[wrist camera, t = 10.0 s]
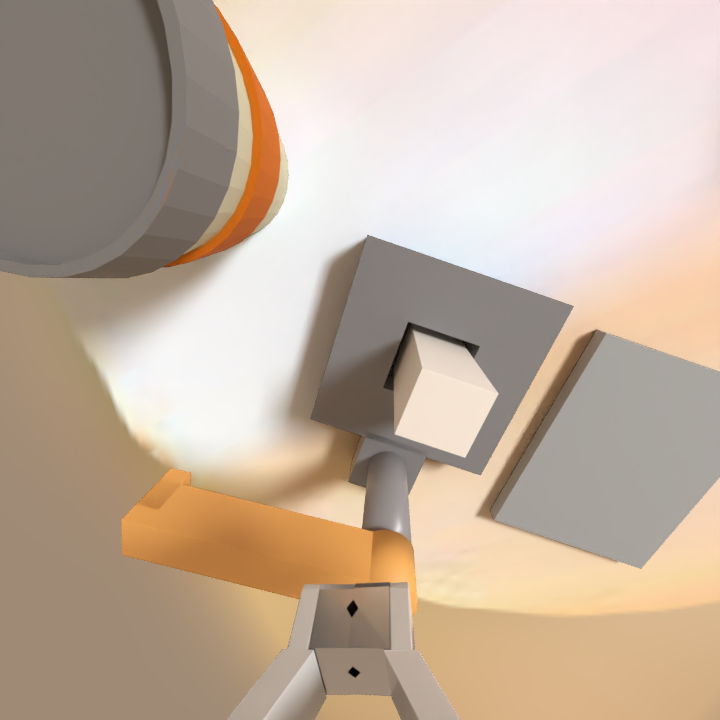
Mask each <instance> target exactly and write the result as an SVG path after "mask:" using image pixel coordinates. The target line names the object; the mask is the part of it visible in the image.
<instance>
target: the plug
mask: <svg viewBox="0 0 720 720" xmlns="http://www.w3.org/2000/svg"><path fill="white" fill-rule="evenodd" d="M393 378H394V434H395V435H398V436H401V437H404V438H407V439H410V440H413V441H416V442H419V443H422V444H425V445H428V446H431V447H434V448H437V449H440V450H443V451H446V452H449V453H452V454H455V455H458V456H461V457H464V458H465V457H466V455H467V453H468V452H469V450H470V448H471V446H472V444H473V442H474V440H475V438H476V436H477V434H478V432H479V430H480V429H481V427H482V425H483V423H484V421H485V419H486V417H487V415H488V413H489V411H490V409H491V407H492V405H493V404H494V402H495V400H496V398H497V396H498V394H499V393H498V392H497V391H496V389H495V388H494V387H493V385H492V384H491V382H490V381H489V380H488V378H487V377H486V375H485V374H484V373H483V371H482V370H481V368H480V367H479V366H478V364H477V363H476V361H475V360H474V359H473V357H472V356H471V354H470V353H469V352H468V350H467V349H466V347H465V346H464V345H463V343H462V342H461V340H460V339H457V338H454V337H451V336H448V335H445V334H442V333H439V332H436V331H433V330H430V329H428V328H425V327H422V326H419V325H416V324H413V323H411V324H410V327H409V330H408V332H407V335H406V337H405V340H404V342H403V345H402V348H401V350H400V353H399V355H398V358H397V361H396V363H395V366H394V368H393Z"/></svg>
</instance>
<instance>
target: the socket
mask: <svg viewBox="0 0 720 720" xmlns="http://www.w3.org/2000/svg"><path fill="white" fill-rule="evenodd" d="M573 307H574V306H572V305H569V304H566V303H563V302H560V301H557V300H554V299H551V298H549V297H546V296H543V295H540V294H537V293H534V292H531V291H528V290H525V289H523V288H520V287H517V286H514V285H511V284H508V283H505V282H502V281H499V280H497V279H494V278H491V277H488V276H485V275H482V274H479V273H476V272H473V271H471V270H468V269H465V268H462V267H459V266H456V265H453V264H450V263H447V262H445V261H442V260H439V259H436V258H433V257H430V256H427V255H424V254H421V253H419V252H416V251H413V250H410V249H407V248H404V247H401V246H398V245H395V244H393V243H390V242H387V241H384V240H381V239H378V238H375V237H372V236H369V235H367V238H366V241H365V244H364V248H363V251H362V254H361V257H360V260H359V264H358V267H357V270H356V273H355V277H354V280H353V283H352V286H351V289H350V293H349V296H348V299H347V302H346V305H345V309H344V312H343V315H342V318H341V322H340V325H339V328H338V331H337V334H336V338H335V341H334V344H333V347H332V350H331V354H330V357H329V360H328V363H327V367H326V370H325V373H324V376H323V379H322V383H321V386H320V389H319V392H318V395H317V399H316V402H315V405H314V408H313V412H312V415H311V418H310V419H312V420H315V421H318V422H321V423H324V424H327V425H330V426H333V427H336V428H339V429H342V430H345V431H348V432H351V433H355V434H358V435H361V438H360V441H359V443H358V446H357V449H356V451H355V454H354V456H353V459H352V464H351V469H350V475H349V480H348V482H350V483H353V484H356V485H359V486H362V487H365V488H366V495H365V505H364V515H363V524H362V529H364V530H368V531H377V530H391V531H395V532H398V533H400V534H402V535H403V536H405V537H406V538H407V539H408V540H409V541H410V542H411V530H410V515H409V500H408V495H409V493H410V491H411V489H412V487H413V485H414V482H415V480H416V478H417V476H418V474H419V472H420V470H421V468H422V465H423V463H424V461H425V459H426V457H427V458H430V459H433V460H436V461H439V462H442V463H445V464H448V465H451V466H454V467H457V468H460V469H463V470H466V471H469V472H472V473H475V474H478V475H481V474H482V472H483V470H484V468H485V467H486V465H487V463H488V461H489V459H490V457H491V456H492V454H493V452H494V450H495V448H496V447H497V445H498V443H499V441H500V439H501V437H502V436H503V434H504V432H505V430H506V428H507V427H508V425H509V423H510V421H511V419H512V418H513V416H514V414H515V412H516V410H517V408H518V407H519V405H520V403H521V401H522V399H523V398H524V396H525V394H526V392H527V390H528V388H529V387H530V385H531V383H532V381H533V379H534V378H535V376H536V374H537V372H538V370H539V369H540V367H541V365H542V363H543V361H544V359H545V358H546V356H547V354H548V352H549V350H550V349H551V347H552V345H553V343H554V341H555V340H556V338H557V336H558V334H559V332H560V330H561V329H562V327H563V325H564V323H565V321H566V320H567V318H568V316H569V314H570V312H571V310H572V309H573ZM408 322H411V323H414V324H417V325H419V326H422V327H425V328H428V329H431V330H434V331H437V332H440V333H443V334H446V335H449V336H452V337H455V338H458V339H460V340H463V341H466V342H467V344H466V346H465V347H466V349H467V350H468V352H469V353H470V354H471V356H472V357H473V359H474V360H475V361H476V363H477V364H478V366H479V367H480V368H481V370H482V371H483V373H484V374H485V375H486V377H487V378H488V380H489V381H490V382H491V384H492V385H493V387H494V388H495V389H496V391H497V392H498V393H499V394H498V396H497V398H496V400H495V402H494V404H493V405H492V407H491V409H490V411H489V413H488V415H487V417H486V419H485V421H484V423H483V425H482V427H481V429H480V430H479V432H478V434H477V436H476V438H475V440H474V442H473V444H472V446H471V448H470V450H469V452H468V453H467V455H466V457H465V458H464V457H461V456H458V455H455V454H452V453H449V452H446V451H443V450H440V449H437V448H434V447H431V446H428V445H425V444H422V443H419V442H416V441H413V440H410V439H407V438H404V437H401V436H398V435H395V434H394V378H393V376H391V375H388V373H389V371H390V368H391V366H392V363H393V360H394V358H395V355H396V353H397V350H398V347H399V345H400V342H401V340H402V337H403V334H404V332H405V329H406V327H407V324H408Z"/></svg>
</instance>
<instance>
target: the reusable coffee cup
mask: <svg viewBox="0 0 720 720" xmlns="http://www.w3.org/2000/svg"><path fill="white" fill-rule="evenodd" d="M288 176H289V174H288V160H287V156H286V152H285V148H284V145H283V143H282V140H281V138H280V136H279V133H278V130H277V126H276V122H275V118H274V114H273V111H272V109H271V107H270V104H269V102H268V99H267V97H266V95H265V92H264V90H263V88H262V86H261V84H260V82H259V81H258V79H257V77H256V75H255V73H254V71H253V69H252V67H251V65H250V63H249V61H248V59H247V57H246V55H245V53H244V51H243V49H242V47H241V45H240V43H239V41H238V39H237V38H236V36H235V34H234V33H233V31H232V30H231V28H230V27H229V25H228V23H227V22H226V20H225V19H224V17H223V16H222V14H221V12H220V11H219V9H218V8H217V7H216V6H215V5H214V3H213V1H212V0H0V271H4V272H9V273H14V274H18V275H24V276H28V277H52V278H129V277H133V276H137V275H142V274H146V273H150V272H153V271H155V270H157V269H159V268H161V267H171V266H175V265H179V264H184V263H188V262H191V261H194V260H197V259H200V258H203V257H206V256H209V255H212V254H215V253H218V252H221V251H224V250H226V249H228V248H230V247H232V246H234V245H236V244H238V243H240V242H241V241H243V240H244V239H245V238H246V237H248V236H249V235H251V234H253V233H255V232H257V231H259V230H261V229H263V228H264V227H265V226H266V225H268V224H269V223H270V222H271V221H272V219H273V218H274V217H275V216H276V214H277V213H278V211H279V209H280V208H281V206H282V204H283V202H284V198H285V195H286V191H287V186H288Z"/></svg>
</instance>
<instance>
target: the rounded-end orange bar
mask: <svg viewBox="0 0 720 720" xmlns="http://www.w3.org/2000/svg"><path fill="white" fill-rule="evenodd" d="M190 481H191V473H190V472H186V471H182V470H178V469H173V468H171V469H170V470H169V471H168V472H167V473H166V474H165V475H164V477H163V478H162V479H160V481H158V483H157V484H156V485H155V486H154V487H153V488H152V489H151V490H150V491H149V492H148V493H147V494H146V495H145V496H144V497H143V498H142V499H141V500H140V501H139V502H138V503H137V504H136V505H135V506H134V507H133V508H132V509H131V510H130V511H129V512H128V513H127V514H126V515H125V516H124V517H123V518H122V521H121V522H122V523H121V524H122V555H124V556H129V557H132V558H137V559H141V560H144V561H148V562H152V563H156V564H160V565H165V566H169V567H172V568H176V569H180V570H184V571H188V572H192V573H196V574H200V575H204V576H208V577H212V578H216V579H220V580H224V581H228V582H232V583H236V584H240V585H244V586H248V587H252V588H256V589H260V590H265V591H268V592H272V593H276V594H280V595H284V596H288V597H292V598H296V599H300V595H301V591H302V589H303V587H304V585H305V584H356V583H379V582H390V583H398V582H409V589H410V598H411V608H412V617H413V616H414V614H415V613H416V610H417V591H416V577H415V564H414V550H413V546H412V544H411V542H410V541H409V540H408V539H407V538H406V537H405V536H403V535H402V534H400V533H398V532H395V531H391V530H377V531H368V530H364V529H360V528H356V527H352V526H348V525H344V524H340V523H336V522H332V521H328V520H324V519H320V518H316V517H312V516H308V515H304V514H300V513H296V512H292V511H288V510H284V509H280V508H276V507H272V506H268V505H264V504H260V503H256V502H252V501H248V500H244V499H240V498H235V497H231V496H227V495H223V494H219V493H215V492H211V491H207V490H203V489H199V488H195V487H191V486H190Z"/></svg>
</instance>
